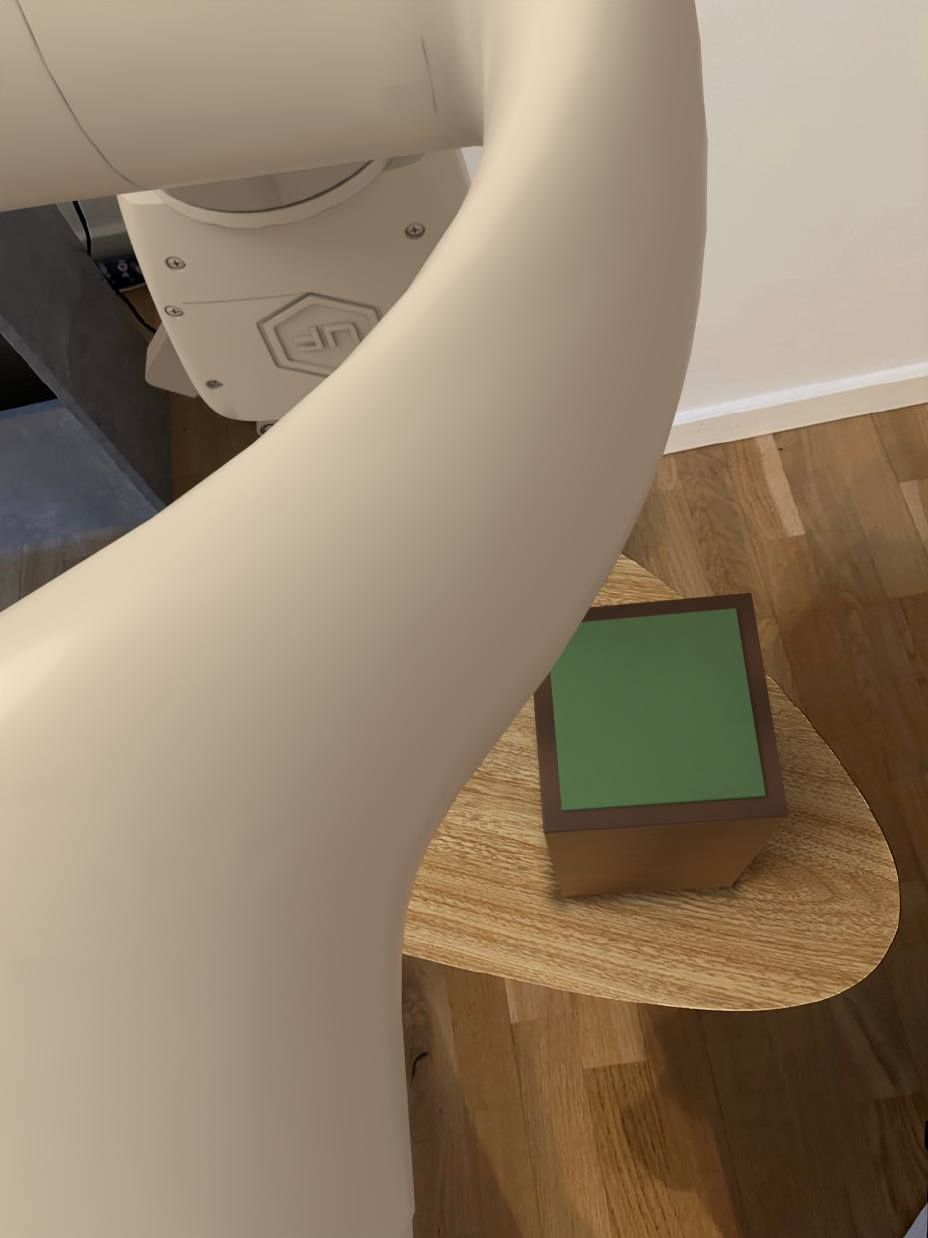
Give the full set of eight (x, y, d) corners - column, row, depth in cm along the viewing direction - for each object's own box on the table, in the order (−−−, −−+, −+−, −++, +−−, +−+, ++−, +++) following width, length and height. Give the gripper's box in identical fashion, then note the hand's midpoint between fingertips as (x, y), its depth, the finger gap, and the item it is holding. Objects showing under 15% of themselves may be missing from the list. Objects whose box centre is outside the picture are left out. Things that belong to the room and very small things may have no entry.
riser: (731, 886, 74) (788, 816, 51) (562, 897, 75) (543, 833, 52) (708, 724, 78) (751, 591, 55) (549, 736, 79) (527, 612, 56)
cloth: (764, 797, 51) (766, 795, 51) (561, 811, 52) (561, 810, 52) (735, 610, 55) (736, 607, 55) (546, 627, 56) (546, 624, 56)
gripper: (-83, 233, 26) (188, 557, 42) (612, 132, 24) (609, 510, 41) (-42, 23, 29) (196, 403, 45) (579, -79, 27) (589, 354, 44)
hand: (391, 451), depth 43 cm, fingers closed on beverage can, 5 cm apart
